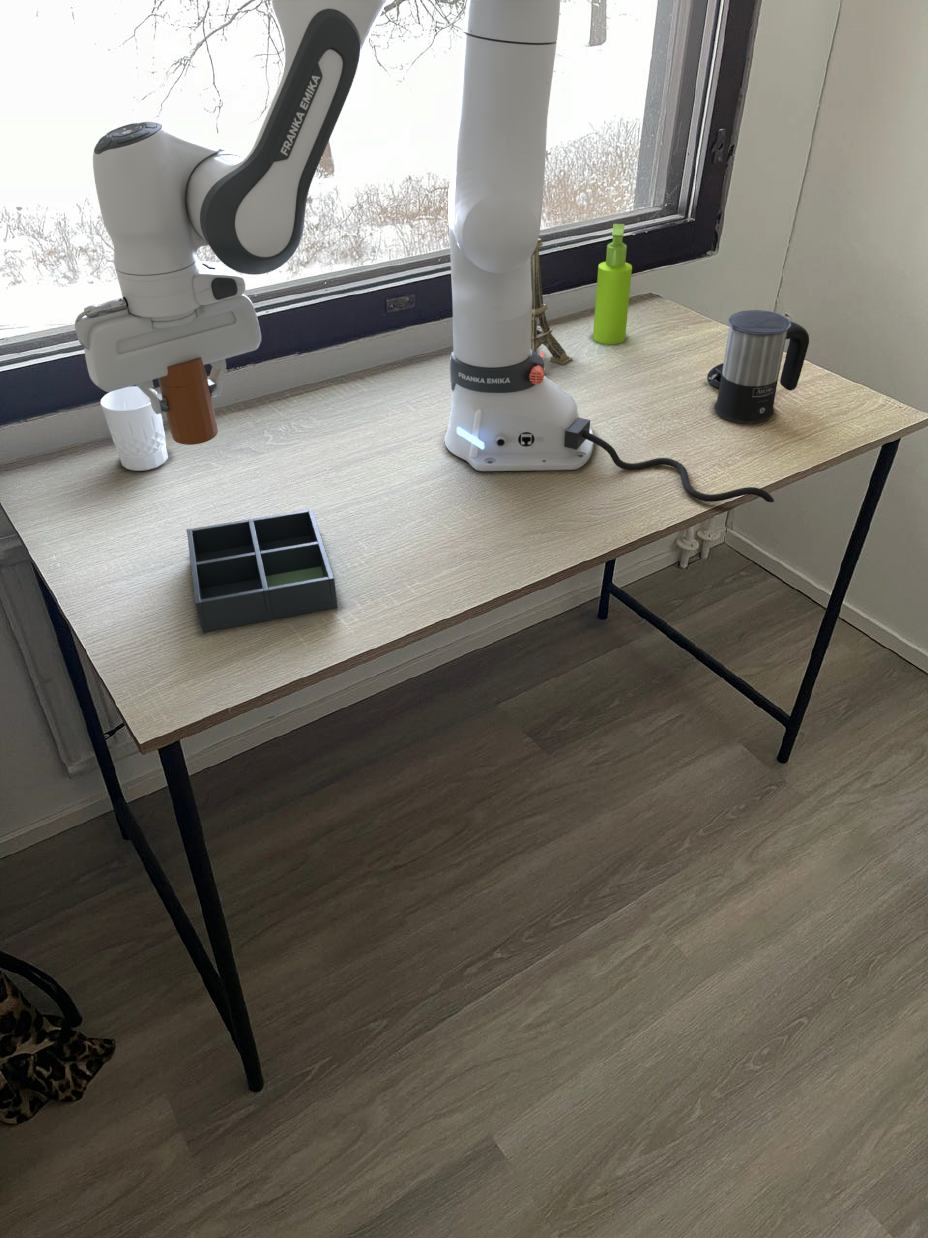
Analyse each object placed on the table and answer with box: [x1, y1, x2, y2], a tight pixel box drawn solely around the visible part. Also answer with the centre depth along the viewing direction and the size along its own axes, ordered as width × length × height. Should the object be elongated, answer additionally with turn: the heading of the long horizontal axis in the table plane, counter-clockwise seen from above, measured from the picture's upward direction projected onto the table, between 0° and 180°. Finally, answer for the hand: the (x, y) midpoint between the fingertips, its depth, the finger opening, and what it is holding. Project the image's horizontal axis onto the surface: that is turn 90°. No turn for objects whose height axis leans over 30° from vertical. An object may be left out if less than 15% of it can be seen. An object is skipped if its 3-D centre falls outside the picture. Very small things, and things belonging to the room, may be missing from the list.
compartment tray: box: [186, 508, 338, 633], centre depth 114 cm, size 16×16×4 cm
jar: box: [157, 357, 219, 446], centre depth 113 cm, size 6×6×10 cm
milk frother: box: [706, 309, 810, 425], centre depth 148 cm, size 14×16×15 cm
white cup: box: [99, 385, 169, 472], centre depth 136 cm, size 8×8×10 cm
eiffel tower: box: [530, 238, 573, 366], centre depth 157 cm, size 11×11×25 cm
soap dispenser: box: [592, 223, 633, 345], centre depth 166 cm, size 6×7×20 cm
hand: (188, 402), depth 113 cm, fingers closed on jar, 5 cm apart
